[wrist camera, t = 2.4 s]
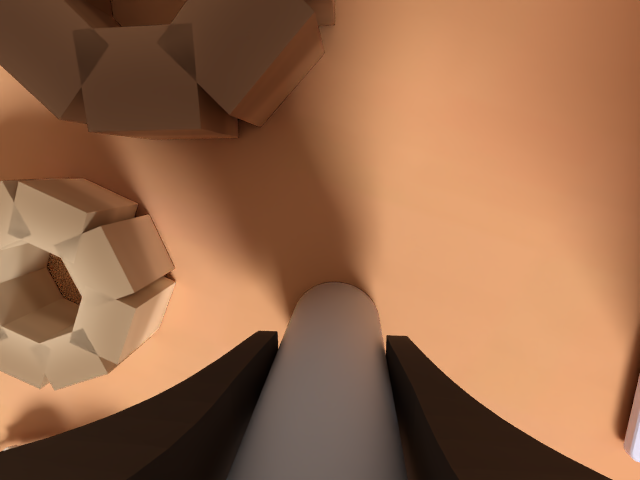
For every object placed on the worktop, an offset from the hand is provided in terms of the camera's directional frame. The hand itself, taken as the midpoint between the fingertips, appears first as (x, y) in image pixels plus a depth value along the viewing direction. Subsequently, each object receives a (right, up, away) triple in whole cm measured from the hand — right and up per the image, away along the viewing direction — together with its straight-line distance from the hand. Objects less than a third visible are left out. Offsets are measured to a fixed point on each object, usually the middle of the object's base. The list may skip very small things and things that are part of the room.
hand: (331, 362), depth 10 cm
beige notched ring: (-10, +3, +3) cm, 11 cm away
